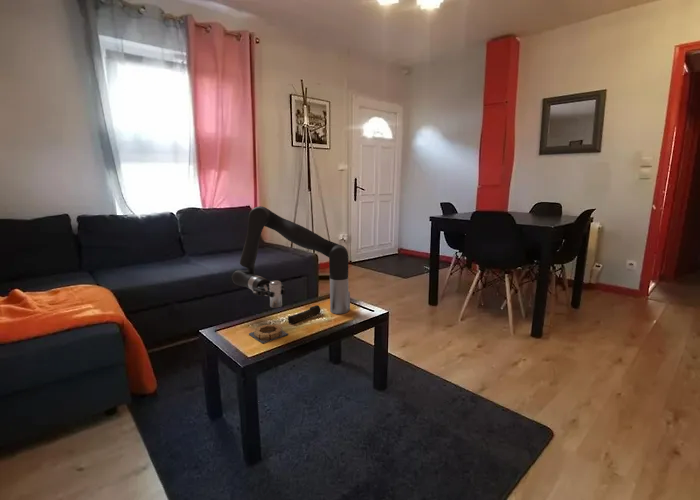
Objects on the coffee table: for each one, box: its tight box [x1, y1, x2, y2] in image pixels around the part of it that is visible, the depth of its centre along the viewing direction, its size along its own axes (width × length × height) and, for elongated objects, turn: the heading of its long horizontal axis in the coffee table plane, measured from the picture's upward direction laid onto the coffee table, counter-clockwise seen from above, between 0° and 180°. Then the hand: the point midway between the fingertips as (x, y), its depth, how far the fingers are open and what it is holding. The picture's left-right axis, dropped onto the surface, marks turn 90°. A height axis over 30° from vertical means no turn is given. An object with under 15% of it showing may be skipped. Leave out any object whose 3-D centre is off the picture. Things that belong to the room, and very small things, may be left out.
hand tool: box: [287, 305, 322, 325], centre depth 173 cm, size 19×4×5 cm, turn 135°
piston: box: [269, 280, 283, 309], centre depth 155 cm, size 5×5×11 cm
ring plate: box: [248, 324, 289, 344], centre depth 155 cm, size 12×12×2 cm
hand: (278, 293), depth 153 cm, fingers closed on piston, 5 cm apart
